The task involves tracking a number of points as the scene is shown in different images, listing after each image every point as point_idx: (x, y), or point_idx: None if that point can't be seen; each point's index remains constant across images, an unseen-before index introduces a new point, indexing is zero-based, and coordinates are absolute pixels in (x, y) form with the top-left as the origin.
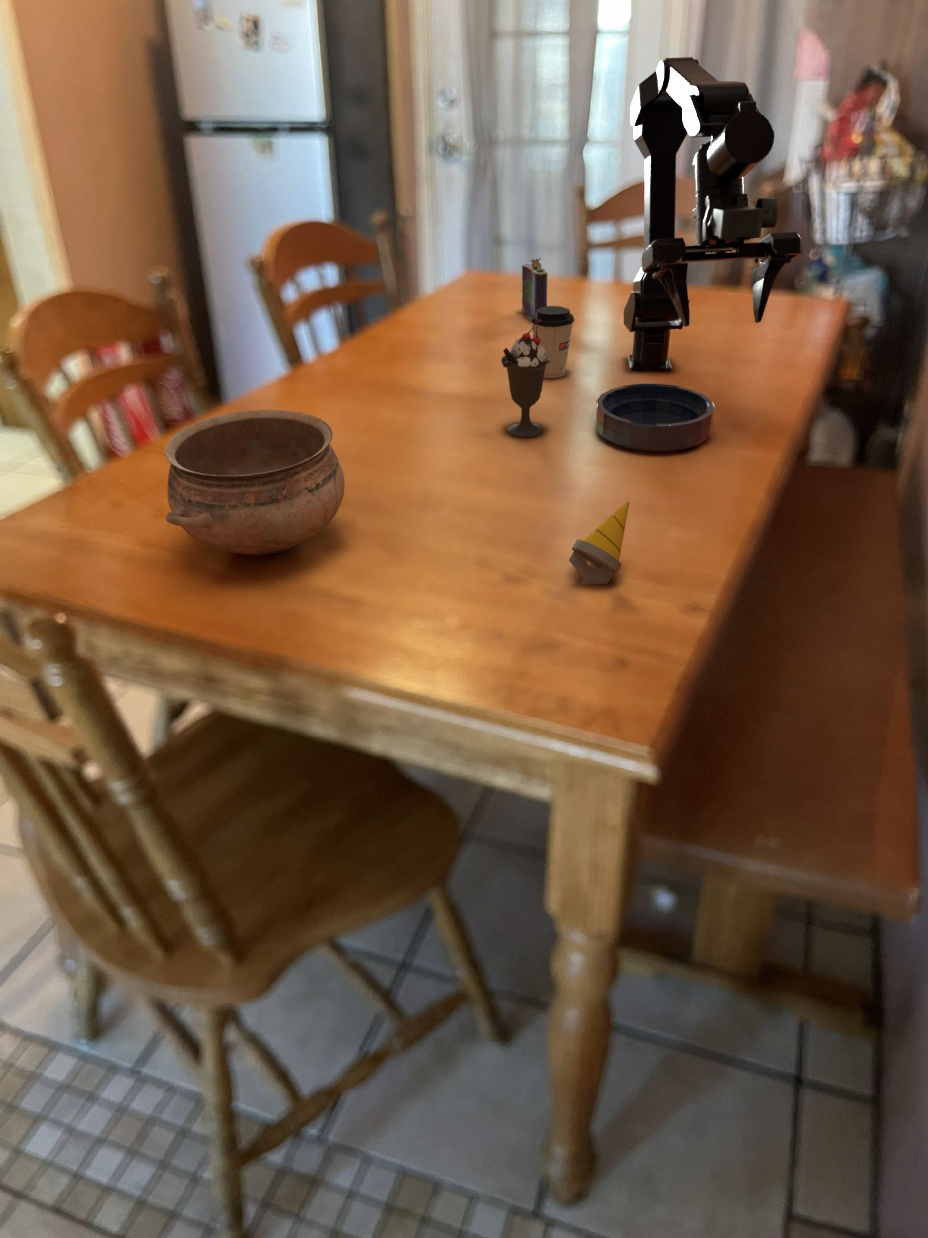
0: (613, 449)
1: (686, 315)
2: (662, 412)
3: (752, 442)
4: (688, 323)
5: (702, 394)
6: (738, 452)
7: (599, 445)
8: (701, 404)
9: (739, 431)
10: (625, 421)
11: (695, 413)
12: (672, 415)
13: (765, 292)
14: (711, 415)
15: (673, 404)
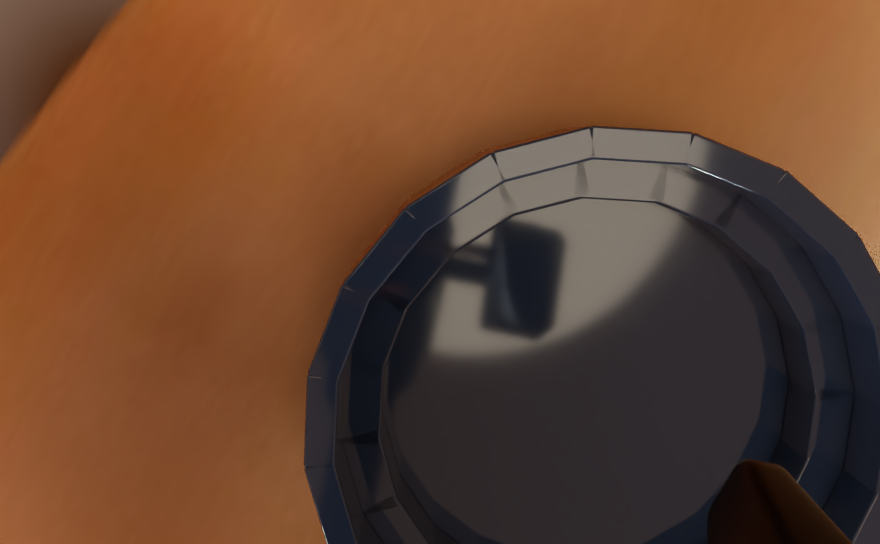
0: None
1: (828, 534)
2: (460, 535)
3: (209, 138)
4: (758, 466)
5: (314, 467)
6: (326, 61)
7: None
8: (340, 416)
9: (203, 270)
10: (876, 271)
11: (383, 386)
12: (434, 489)
13: None
14: (405, 206)
15: (423, 529)
